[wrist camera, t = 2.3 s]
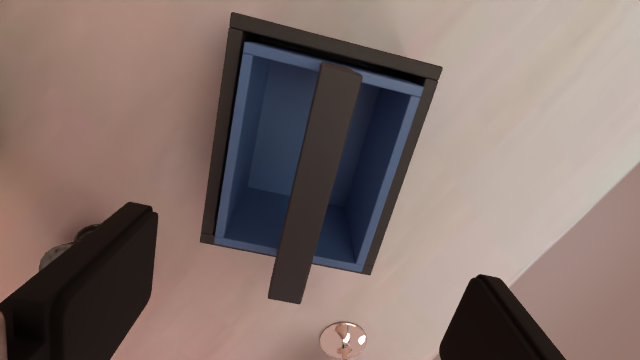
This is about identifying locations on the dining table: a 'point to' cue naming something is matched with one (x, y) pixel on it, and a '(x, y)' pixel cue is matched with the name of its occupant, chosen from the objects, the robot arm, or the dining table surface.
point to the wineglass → (343, 340)
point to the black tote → (327, 47)
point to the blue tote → (310, 160)
